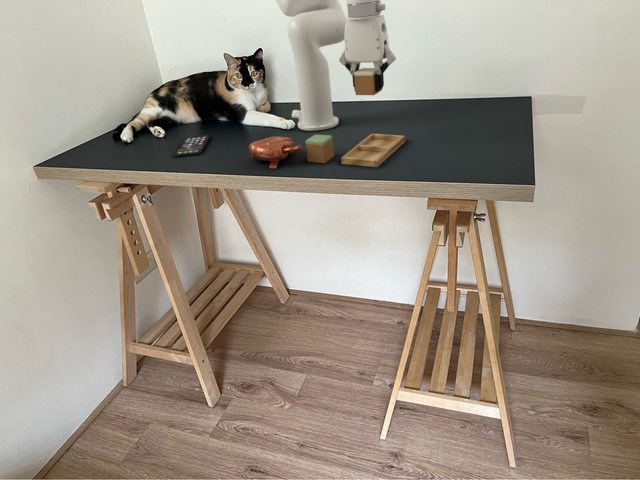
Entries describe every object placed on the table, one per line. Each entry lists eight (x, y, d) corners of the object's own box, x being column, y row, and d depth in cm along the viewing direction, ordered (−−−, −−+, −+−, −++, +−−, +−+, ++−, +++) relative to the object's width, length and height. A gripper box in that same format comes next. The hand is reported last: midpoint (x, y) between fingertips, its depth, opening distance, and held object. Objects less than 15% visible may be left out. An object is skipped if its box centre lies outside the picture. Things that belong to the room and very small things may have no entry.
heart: (238, 145, 122) (296, 145, 118) (255, 133, 132) (309, 133, 129) (241, 168, 124) (298, 169, 121) (258, 154, 135) (311, 155, 131)
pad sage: (307, 161, 125) (305, 140, 122) (317, 154, 128) (315, 134, 125) (325, 163, 122) (322, 142, 119) (334, 156, 126) (332, 135, 123)
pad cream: (355, 95, 123) (353, 72, 120) (363, 90, 127) (362, 67, 124) (373, 95, 121) (372, 72, 118) (381, 90, 124) (380, 67, 122)
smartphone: (174, 154, 138) (185, 137, 151) (174, 157, 138) (186, 139, 151) (200, 152, 138) (209, 134, 151) (200, 154, 138) (210, 137, 151)
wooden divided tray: (341, 163, 121) (340, 157, 120) (371, 139, 134) (371, 133, 134) (377, 167, 116) (377, 161, 116) (405, 141, 130) (405, 135, 129)
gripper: (404, 6, 113) (406, 86, 122) (338, 11, 121) (345, 86, 130) (391, 10, 108) (394, 94, 117) (324, 15, 116) (331, 93, 125)
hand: (368, 89), depth 123 cm, fingers closed on pad cream, 5 cm apart
